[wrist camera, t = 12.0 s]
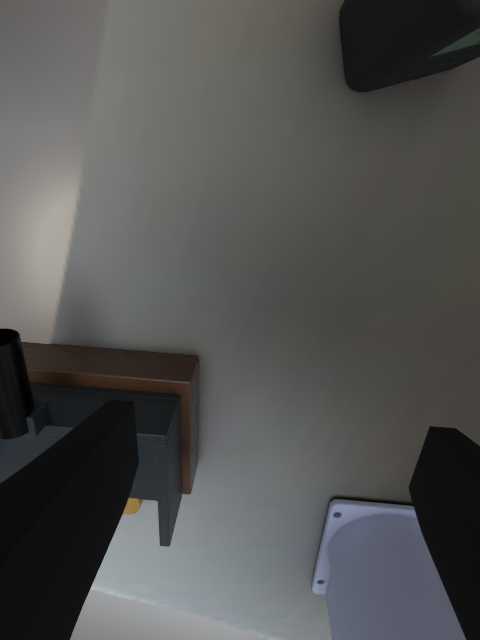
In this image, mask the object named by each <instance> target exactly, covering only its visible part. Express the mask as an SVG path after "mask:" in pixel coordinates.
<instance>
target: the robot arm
mask: <svg viewBox="0 0 480 640" xmlns="http://www.w3.org/2000/svg"><path fill="white" fill-rule="evenodd" d="M138 465H139V456H138V444H137V431H136V418H135V406H134V401H124V400H112V399H110V400H108V401H107V402H106V403H105V404H103V405H102V406H101V407H99V408H98V409H97V410H96V411H94V412H93V413H92V414H91V415H89V416H88V417H87V418H86V419H85V420H83V421H82V422H81V423H80V424H78V425H77V426H76V427H75V428H73V429H72V430H71V431H70V432H68V433H67V434H66V435H65V436H63V437H62V438H61V439H60V440H58V441H57V442H56V443H54V444H53V445H52V446H51V447H49V448H48V449H47V450H45V451H44V452H43V453H42V454H40V455H39V456H38V457H36V458H35V459H34V460H32V461H31V462H30V463H28V464H27V465H25V466H24V467H23V468H21V469H20V470H18V471H17V472H16V473H14V474H13V475H11V476H10V477H9V478H7V479H6V480H5V481H3V482H2V483H0V640H70V638H71V635H72V632H73V630H74V627H75V624H76V622H77V619H78V617H79V614H80V612H81V609H82V606H83V604H84V602H85V599H86V597H87V595H88V593H89V590H90V588H91V586H92V584H93V581H94V579H95V577H96V574H97V572H98V570H99V567H100V565H101V563H102V560H103V558H104V556H105V554H106V551H107V549H108V547H109V544H110V542H111V540H112V537H113V535H114V533H115V530H116V528H117V526H118V523H119V521H120V519H121V516H122V514H123V512H124V509H125V507H126V504H127V502H128V498H129V495H130V492H131V489H132V486H133V482H134V479H135V476H136V472H137V469H138ZM409 491H410V495H411V498H412V502H413V506H408V505H397V504H386V503H375V502H364V501H353V500H342V499H335V500H333V501H331V503H330V505H329V509H328V514H327V518H326V522H325V527H324V531H323V536H322V540H321V544H320V549H319V553H318V558H317V562H316V566H315V571H314V575H313V580H312V584H311V586H312V591H313V593H315V594H320V595H326V600H327V607H328V615H329V622H330V629H331V636H332V640H480V446H478V445H477V444H476V443H475V442H473V441H472V440H471V439H469V438H468V437H467V436H465V435H464V434H463V433H461V432H460V431H459V430H457V429H456V428H444V427H432V426H430V427H429V430H428V433H427V436H426V439H425V442H424V445H423V447H422V450H421V453H420V456H419V459H418V462H417V465H416V468H415V471H414V473H413V476H412V479H411V482H410V485H409Z"/></svg>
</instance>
